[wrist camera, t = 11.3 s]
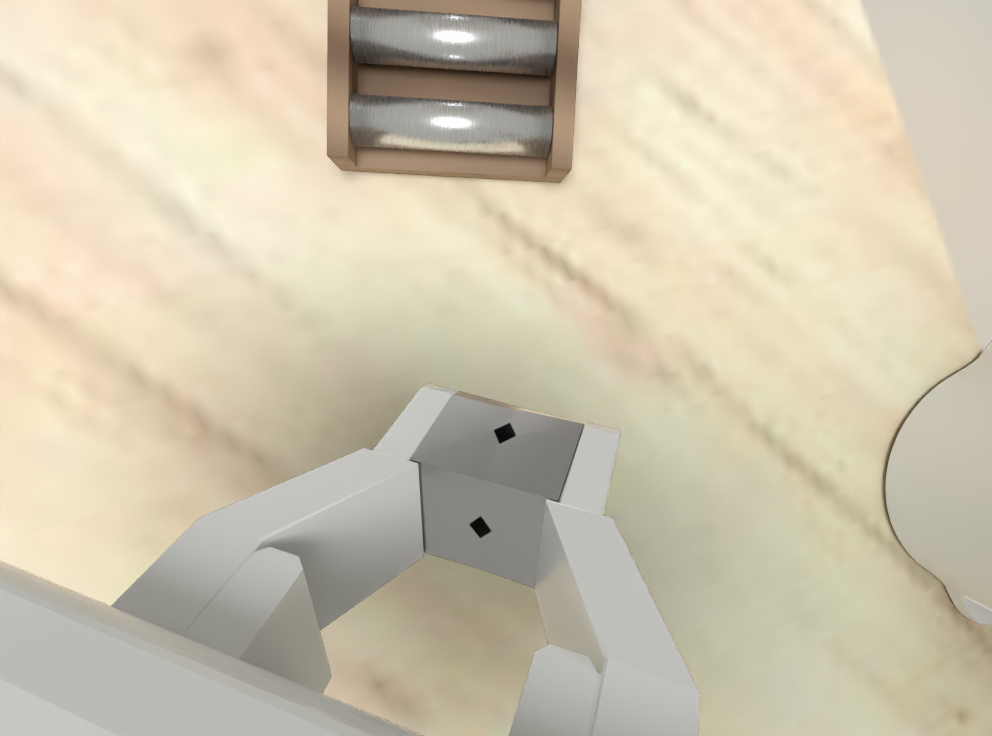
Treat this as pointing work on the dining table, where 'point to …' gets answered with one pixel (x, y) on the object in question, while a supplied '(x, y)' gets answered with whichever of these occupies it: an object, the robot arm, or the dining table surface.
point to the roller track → (453, 87)
